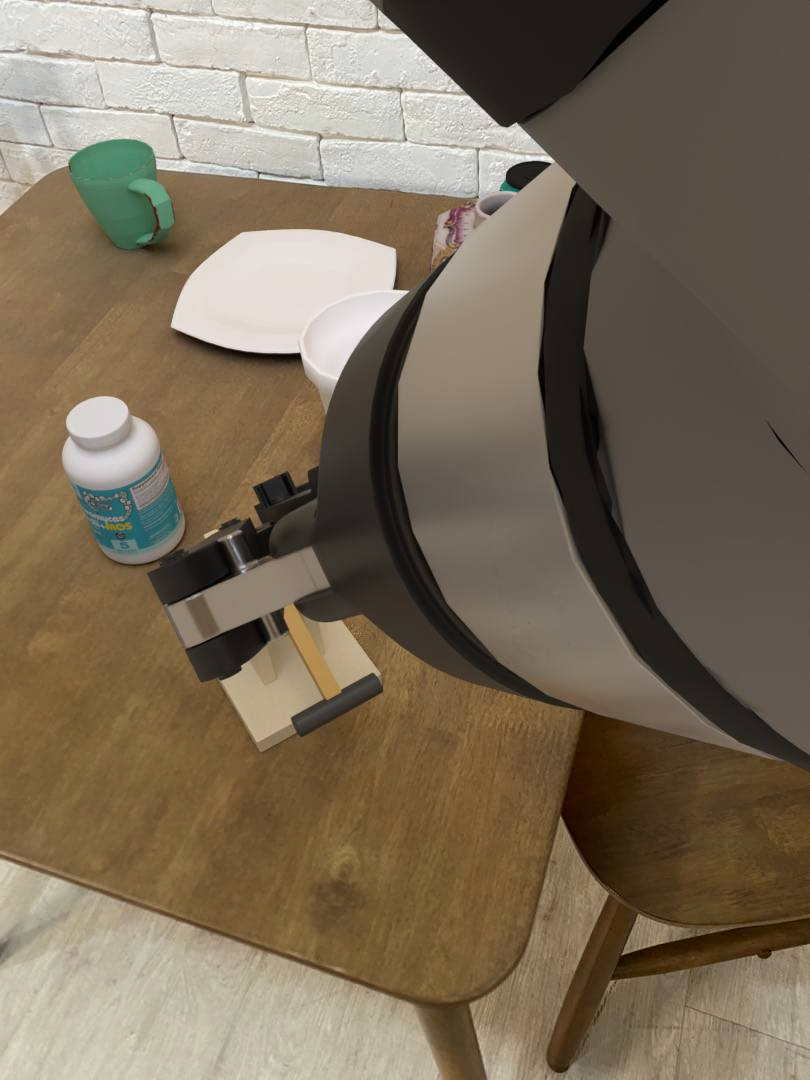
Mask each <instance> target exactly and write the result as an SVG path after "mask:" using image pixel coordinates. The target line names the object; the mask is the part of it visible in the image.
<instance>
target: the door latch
mask: <svg viewBox="0 0 810 1080" xmlns="http://www.w3.org/2000/svg"><path fill="white" fill-rule="evenodd" d="M218 531H219V529H218V528H215V529H213V530H211V531H209V532H207V533H204V534H203V540H205V539H206V538H208V537H209V536H210V535H212V534H214V533H216V532H218ZM293 604H294V603H293ZM294 606H295V605H294ZM296 609H297V608H296ZM297 611H298V610H297ZM298 613H299V615H300V617H301V618H302V620H303V622H304V624H305V626H306V628H307V629H308V631H309V633H310V635H311V637H312V638H313V640H314V642H315V644H316V646H317V648H318V649H319V651H320V653H321V655H322V657H323V659H324V660H325V662H326V664H327V666H328V668H329V669H330V671H331V673H332V675H333V677H334V679H335V680H336V682H337V684H338V686H339V688H340V689H343V688H345V687H347V686H349V685H350V684H352V683H354V682H356V681H358V680H359V679H361V678H363V677H365V676H367V675H369V674H370V673H374V674H375V675H376V676H377V677H378V679H379V680H380V682H381V684H382V685H383V681H382V680H383V679H382V674H381V672H380V671H379V668H377V667H376V665H375V664H374V662H373V661H372V659H371V658H370V657H369V656H368V654H367V652H366V651H365V650H364V649H363V647H362V646H361V644H360V642H358V641H357V639H356V638H355V636H354V635H353V633H352V632H351V630H349V628H348V627H347V625H346V624H345V623H344V621H343V619H342V620H339V621H335V622H317V621H313V620H311V619H308V618H307V617H305V616H304V615H302V614H301V613H300V612H299V611H298ZM241 667H242V670H241V671H240V672H239V673H237V674H235V675H234V676H232V677H230V678H227V679H225V680H222V681H220V680H219V678H216V679H217V682H218V684H219V685H220V687H221V688H222V690H223V692H224V693H225V696H227V698H228V700H229V702H230V704H231V705H232V707H233V709H234V710H235V712H236V714H237V715H238V718H239V719H240V721H241V722H242V724H243V726H244V728H245V730H246V731H247V733H248V735H249V736H250V738H251V740H252V742H253V743H254V745H255V747H256V748H257V750H258V752H259V753H260V754H261V753H263V752H265V751H266V750H268V749H270V748H272V747H274V746H275V745H277V744H280V743H281V742H283V741H284V740H287V739H288V738H290V737H292V736H293V735H296V734H298V733H297V732H296V730H295V728H294V726H293V724H292V721H291V717H292V716H294V715H296V714H297V713H299V712H301V711H303V710H305V709H307V708H308V707H310V706H312V705H314V704H316V703H318V702H319V701H321V700H323V697H322V696H321V694H320V692H319V690H318V688H317V686H316V685H315V683H314V681H313V679H312V677H311V675H310V674H309V672H308V670H307V668H306V666H305V664H304V663H303V661H302V659H301V657H300V655H299V653H298V651H297V650H296V648H295V646H294V644H293V642H292V640H291V639H290V637H289V635H287V636H285V637H284V638H282V639H280V640H278V641H276V642H274V643H271V644H267V645H266V646H265V647H264V648H263V649H262V650H261V651H259V652H258V653H257V654H256V655H255V656H254V657H253V658H252V659H250V660H249V661H248V662H246V663H245V664H243V665H242V666H241Z"/></svg>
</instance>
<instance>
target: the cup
mask: <svg viewBox="0 0 810 1080" xmlns="http://www.w3.org/2000/svg"><path fill="white" fill-rule="evenodd" d="M409 291H410V290H405V289H404V290H401V289H393V290H388V289H377V290H371V291H365V292H360V293H354V294H349V295H347V296H345V297H342V298H340V299H338V300H335V301H333V302H331V303H328V304H326V305H324V306H323V307H322V308H321V309H320V310H319V311H317V312H316V313H315V314H314V315H313V316H312V317H311V318H309V319H308V320H307V321H306V323H305V325H304V328H303V330H302V332H301V334H300V337H299V339H298V343H299V348H300V353H301V354H300V357H301V362H302V366H303V370H304V374H305V376H306V377H307V379H309V381H311V382H312V383H313V385H314V386H315V387H316V388H317V390H318V393H319V396H320V400H321V403H322V406H323V410H324V413H325V415H326V414H327V410H328V406H329V403H330V400H331V397H332V394H333V392H334V389H335V386H336V384H337V381H338V379H339V377H340V374H341V372H342V370H343V368H344V366H345V364H346V363H347V361H348V359H349V357H350V355H351V354H352V352H353V351H354V349H355V348H356V346H357V345H358V343H359V342H360V340H361V339H362V337H363V336H364V335H365V334H366V332H367V331H368V330H369V329H370V328H371V326H372V325H373V324H374V323H375V322H376V321H377V320H378V319H379V318H380V317H381V316H382V315H383V314H384V313H385V312H386V311H387V310H388V309H389V308H390V307H391V306H393V305H394V304H395V303H396V302H397V301H398V300H400V299H401V298H402V297H403V296H404V295H405V294H407V293H408V292H409Z"/></svg>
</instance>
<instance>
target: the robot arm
mask: <svg viewBox="0 0 810 1080" xmlns="http://www.w3.org/2000/svg"><path fill="white" fill-rule="evenodd" d="M368 1H369V2H370V3H371V4H372V5H374V6H375V7H376V9H378V10H379V11H380V13H381V14H382V15H384V17H386V18H387V19H388V20H389V21H390V22H391V23H392V24H394V26H396V28H398V30H400V31H401V32H402V33H403V34H404V35H405V36H406V37H408V39H409V40H411V41H412V42H413V44H414V45H416V46H417V47H418V49H420V50H421V51H422V52H423V53H424V54H425V55H426V56H427V57H428V58H429V59H430V60H431V61H432V62H433V63H434V64H435V65H436V66H438V68H440V69H441V70H442V71H443V72H444V73H445V75H447V76H448V77H449V79H451V80H452V81H453V82H454V83H455V84H456V85H457V86H458V87H459V88H460V89H461V90H462V91H463V92H464V93H465V94H466V95H467V96H468V97H469V98H470V99H471V100H473V101H474V103H476V104H477V106H478V107H480V108H481V109H482V110H483V111H484V112H485V113H486V114H487V115H488V117H490V118H491V119H492V120H493V121H494V122H495V123H496V124H497V125H498V126H500V127H502V128H507V129H508V128H510V127H511V126H513V125H515V124H517V125H518V126H519V127H520V128H521V129H522V130H523V131H524V132H525V133H526V134H527V135H528V136H529V137H530V138H531V139H532V140H533V141H534V142H535V143H536V144H537V145H538V146H539V147H540V148H541V149H542V150H543V151H544V152H545V153H546V154H547V155H548V156H549V157H550V158H551V159H552V160H553V162H551V163H552V164H551V165H550V166H549V167H548V168H547V169H545V170H544V171H543V172H542V173H541V174H539V175H538V176H537V177H536V178H535V179H534V180H532V181H531V182H530V183H529V184H528V185H526V186H525V187H524V188H523V189H522V190H521V191H519V192H518V193H517V194H516V195H515V196H513V197H512V198H511V199H510V200H509V201H508V202H506V203H505V204H504V205H503V206H502V207H500V208H499V209H498V210H497V211H496V212H495V213H493V214H492V215H491V216H490V217H489V218H488V219H486V220H485V221H484V222H483V223H482V224H480V225H479V226H478V227H477V228H476V229H475V230H473V231H472V232H471V233H470V234H469V235H468V236H467V238H466V239H465V240H464V242H463V243H462V245H461V246H460V247H459V249H458V250H456V251H455V252H454V253H453V254H452V255H451V256H449V257H448V258H447V259H446V260H445V261H444V262H442V263H441V264H440V265H439V266H438V267H437V268H436V269H434V270H433V271H432V272H431V273H430V272H429V273H428V274H427V275H426V276H425V277H424V278H423V279H421V280H420V281H419V282H418V283H416V285H414V286H413V287H412V288H411V289H409V290H408V291H409V292H408V293H407V294H405V295H404V296H403V297H402V298H401V299H400V300H398V301H397V302H396V303H395V304H394V305H393V306H391V307H390V308H389V309H388V310H387V311H386V312H385V313H384V314H383V315H382V316H381V317H380V318H379V319H378V320H377V321H376V322H375V323H374V324H373V325H372V326H371V328H370V329H369V330H368V331H367V332H366V334H365V335H364V336H363V337H362V339H361V340H360V342H359V343H358V345H357V346H356V348H355V349H354V351H353V352H352V354H351V355H350V357H349V359H348V361H347V363H346V364H345V366H344V368H343V370H342V372H341V374H340V377H339V379H338V381H337V384H336V386H335V389H334V392H333V394H332V397H331V400H330V403H329V406H328V410H327V414H326V413H325V418H324V422H323V429H322V433H321V434H322V435H321V439H320V448H319V449H320V450H319V459H318V460H319V462H318V465H316V466H315V467H312V468H310V469H308V471H307V479H308V481H307V482H305V483H302V484H299V485H297V486H296V484H295V483H294V480H293V477H292V476H291V474H290V472H289V470H286V471H285V472H282V473H280V474H278V475H275V476H273V477H271V478H269V479H267V480H265V481H262V482H260V483H258V484H255V485H253V486H252V489H253V492H254V494H255V496H256V497H257V499H258V502H259V503H257V504H255V505H253V508H254V510H255V513H256V514H257V516H258V518H259V521H260V523H261V525H259V526H257V527H255V525H254V523H253V521H252V519H251V517H250V516H249V517H246V518H244V519H242V520H241V518H238V517H234V518H232V519H230V520H228V521H225V522H223V523H220V527H218V532H216V533H214V534H212V535H210V536H209V537H208V538H206V539H203V540H202V541H200V542H199V543H197V544H196V545H195V546H193V547H191V548H190V549H189V550H186V551H185V548H184V547H182V548H180V549H177V550H175V551H173V552H171V553H168V554H166V555H164V556H163V557H161V558H159V560H160V563H158V566H157V567H155V568H153V569H151V570H150V571H148V572H146V575H147V577H148V579H149V581H150V583H151V586H152V587H153V589H154V591H155V593H156V595H157V597H158V599H159V601H160V604H161V605H162V606H163V611H165V613H166V616H167V618H168V620H169V622H170V624H171V626H172V628H173V630H174V632H175V634H176V636H177V638H178V640H179V642H180V644H181V646H182V648H183V649H184V652H185V654H186V656H187V658H188V661H189V662H190V664H191V667H192V669H193V670H194V672H195V675H196V676H197V678H198V680H199V682H200V683H206V682H210V681H212V680H215V679H217V678H219V680H220V681H222V680H225V679H227V678H230V677H232V676H234V675H235V674H237V673H239V672H240V671H241V670H242V667H241V666H242V665H243V664H245V663H246V662H248V661H249V660H250V659H252V658H253V657H254V656H255V655H256V654H257V653H258V652H259V651H261V650H262V649H263V648H264V647H265V646H266V645H267V644H271V643H274V642H276V641H278V640H280V639H282V638H284V637H285V636H287V635H288V634H289V632H290V630H289V628H288V626H287V624H286V621H285V619H284V607H286V606H288V605H291V604H293V603H294V605H295V607H296V608H297V610H298V611H299V612H300V613H301V614H302V615H304V616H305V617H307V618H308V619H311V620H313V621H317V622H335V621H339V620H342V621H343V620H346V619H349V618H353V617H357V616H361V615H362V616H363V617H365V618H366V619H367V620H368V621H370V622H371V623H372V624H373V625H374V626H375V627H377V628H378V629H379V630H380V631H381V632H383V633H384V635H386V636H387V637H389V638H390V639H391V640H392V641H393V642H395V643H396V644H398V646H400V647H401V648H403V649H404V650H405V651H407V652H408V653H410V654H411V655H413V656H414V657H416V658H417V659H419V660H421V661H422V662H424V663H425V664H426V665H428V666H430V667H432V668H434V669H435V670H437V671H440V672H441V673H444V674H446V675H449V676H450V677H453V678H455V679H458V680H461V681H463V682H467V683H470V684H473V685H476V686H479V687H484V688H486V689H491V690H495V691H499V692H503V693H506V694H509V695H514V696H517V697H521V698H524V699H528V700H532V701H535V702H539V703H542V704H547V705H550V706H555V707H560V708H566V709H571V710H577V711H584V712H585V711H587V712H591V713H593V714H596V715H599V716H602V717H606V718H610V719H615V720H618V721H621V722H625V723H630V724H634V725H638V726H642V727H644V728H645V727H646V728H649V729H653V730H657V731H661V732H665V733H669V734H672V735H675V736H679V737H684V738H687V739H692V740H696V741H699V742H704V743H708V744H712V745H716V746H720V747H723V748H725V749H731V750H735V751H738V752H743V753H746V754H751V755H754V756H757V757H761V758H765V759H769V760H774V761H779V762H788V763H789V764H792V765H793V766H796V767H798V768H800V769H802V770H804V771H806V772H807V773H810V0H368Z"/></svg>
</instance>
